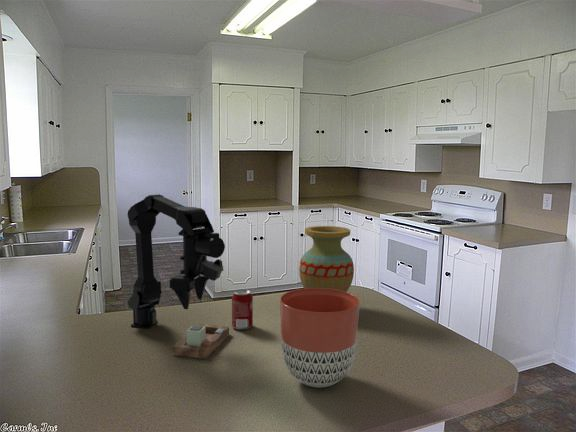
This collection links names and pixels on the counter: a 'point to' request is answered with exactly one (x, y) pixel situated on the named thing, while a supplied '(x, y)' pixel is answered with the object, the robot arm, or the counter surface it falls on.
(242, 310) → the soda can
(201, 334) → the plug
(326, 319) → the planter
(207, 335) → the socket block
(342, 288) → the vase
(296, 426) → the counter surface
